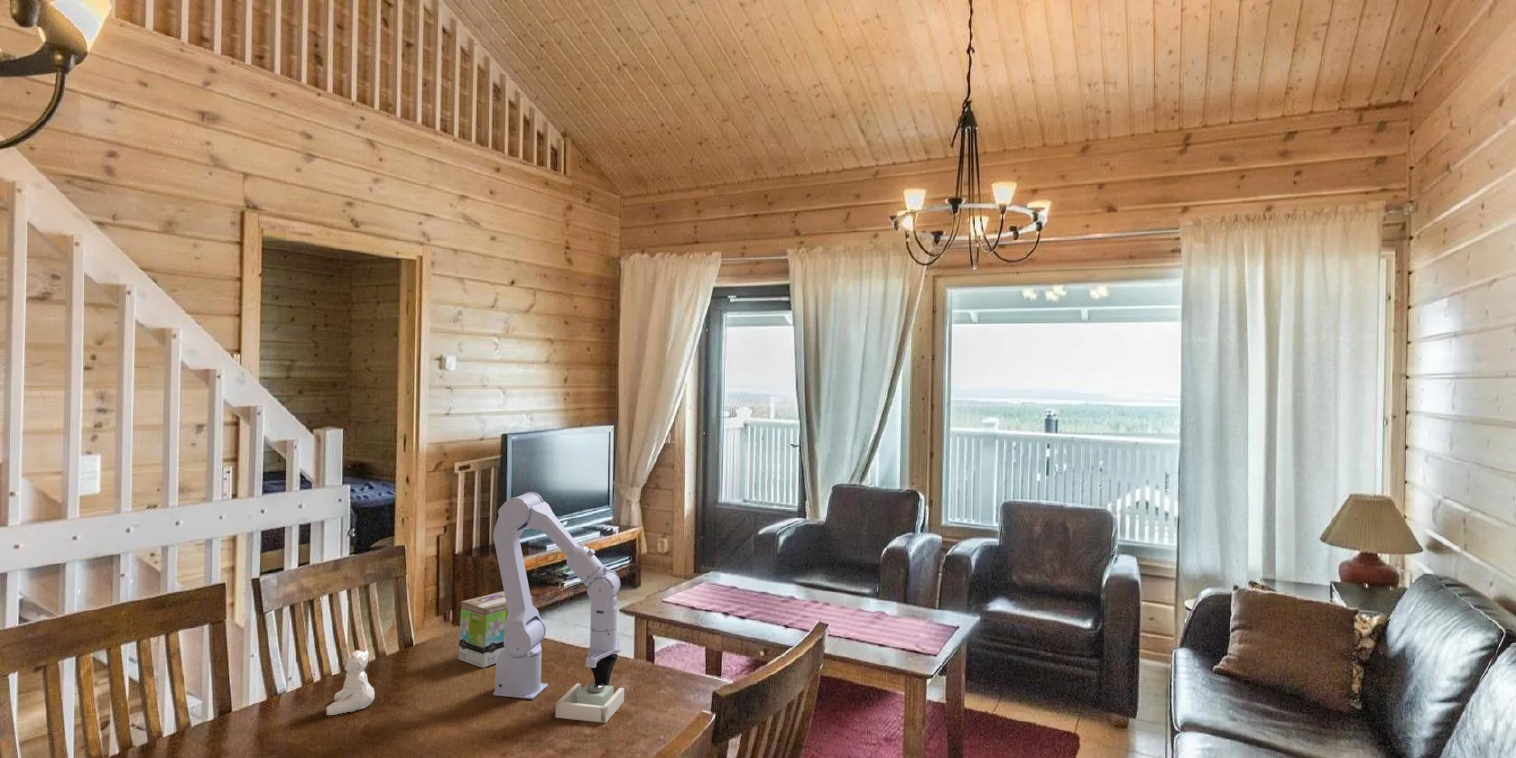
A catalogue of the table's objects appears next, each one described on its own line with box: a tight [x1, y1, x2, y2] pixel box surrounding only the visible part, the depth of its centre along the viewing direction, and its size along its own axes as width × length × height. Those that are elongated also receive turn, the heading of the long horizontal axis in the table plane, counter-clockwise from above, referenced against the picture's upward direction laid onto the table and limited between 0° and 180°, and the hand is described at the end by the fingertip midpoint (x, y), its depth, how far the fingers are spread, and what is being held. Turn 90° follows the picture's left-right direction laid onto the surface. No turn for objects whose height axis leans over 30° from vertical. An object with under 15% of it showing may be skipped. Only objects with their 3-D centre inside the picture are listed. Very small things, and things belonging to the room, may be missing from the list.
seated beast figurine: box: [325, 649, 376, 716], centre depth 173 cm, size 10×9×12 cm
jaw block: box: [576, 681, 614, 706], centre depth 177 cm, size 6×6×4 cm
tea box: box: [458, 590, 534, 669], centre depth 205 cm, size 15×10×15 cm
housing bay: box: [554, 683, 625, 724], centre depth 174 cm, size 11×11×3 cm
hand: (602, 688), depth 181 cm, fingers closed
